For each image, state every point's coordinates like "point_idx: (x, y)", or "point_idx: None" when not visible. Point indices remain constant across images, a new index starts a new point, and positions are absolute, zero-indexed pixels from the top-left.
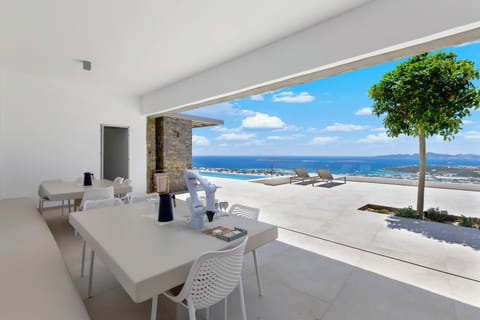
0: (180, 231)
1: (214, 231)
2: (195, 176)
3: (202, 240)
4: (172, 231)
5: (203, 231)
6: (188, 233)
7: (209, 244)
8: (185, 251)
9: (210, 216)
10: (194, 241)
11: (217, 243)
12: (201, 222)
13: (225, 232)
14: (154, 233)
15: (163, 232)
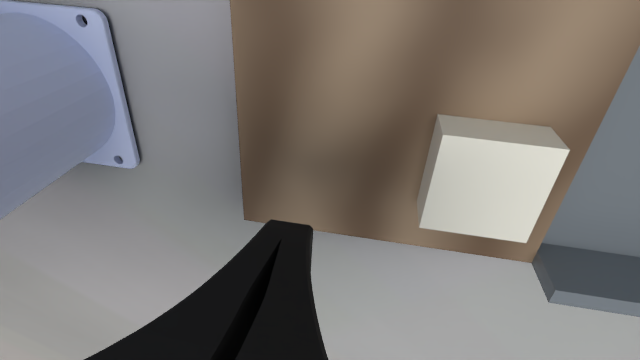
0: (57, 254)
1: (453, 227)
2: None
3: (407, 320)
4: (22, 281)
5: (245, 188)
6: (155, 258)
7: (531, 355)
8: None
9: None
10: (361, 353)
11: (602, 320)
12: (44, 143)
13: (577, 39)
14: (8, 348)
15: (14, 318)
